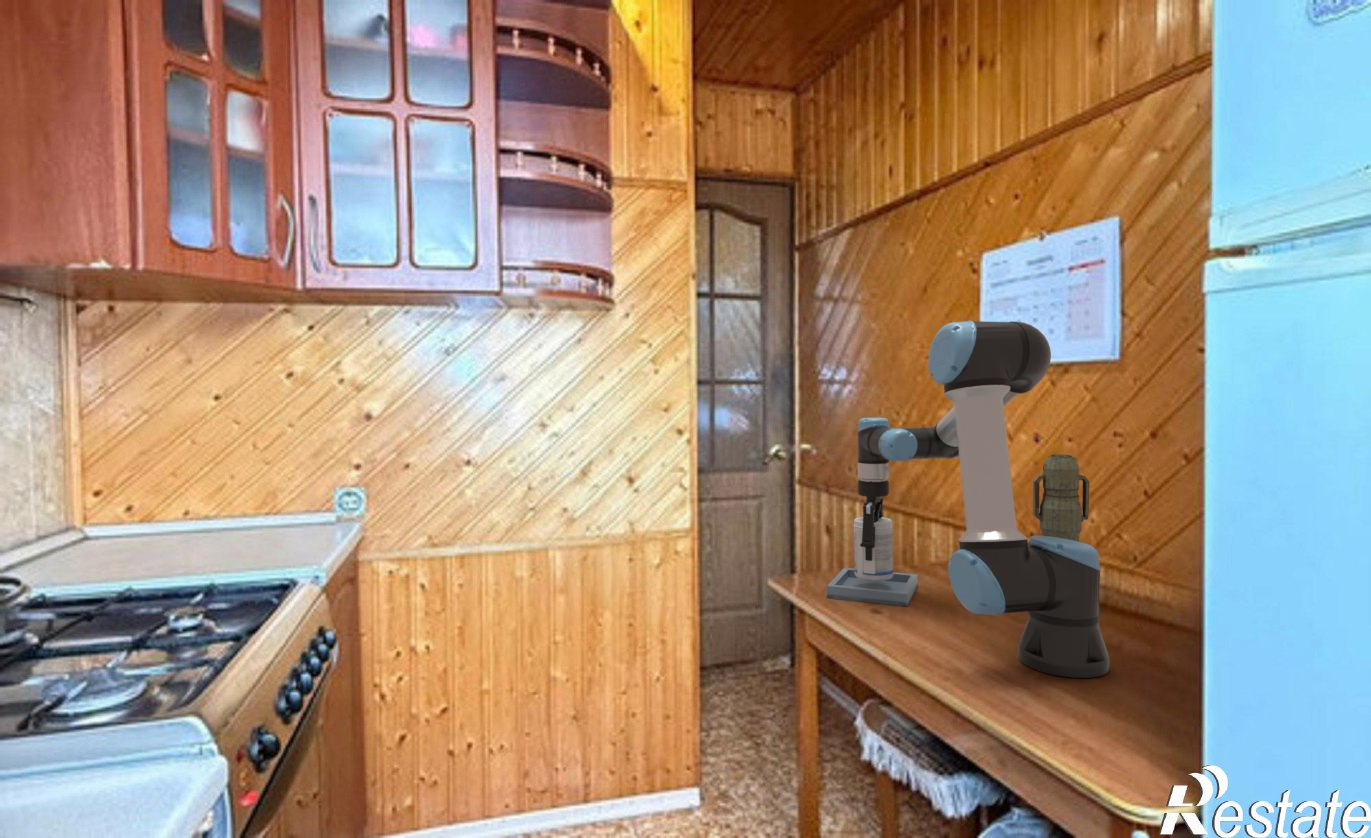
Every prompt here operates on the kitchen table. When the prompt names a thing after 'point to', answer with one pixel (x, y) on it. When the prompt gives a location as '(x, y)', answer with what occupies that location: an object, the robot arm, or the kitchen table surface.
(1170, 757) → the kitchen table surface
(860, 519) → the supplement tub
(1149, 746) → the kitchen table surface
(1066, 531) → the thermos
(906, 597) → the tray
